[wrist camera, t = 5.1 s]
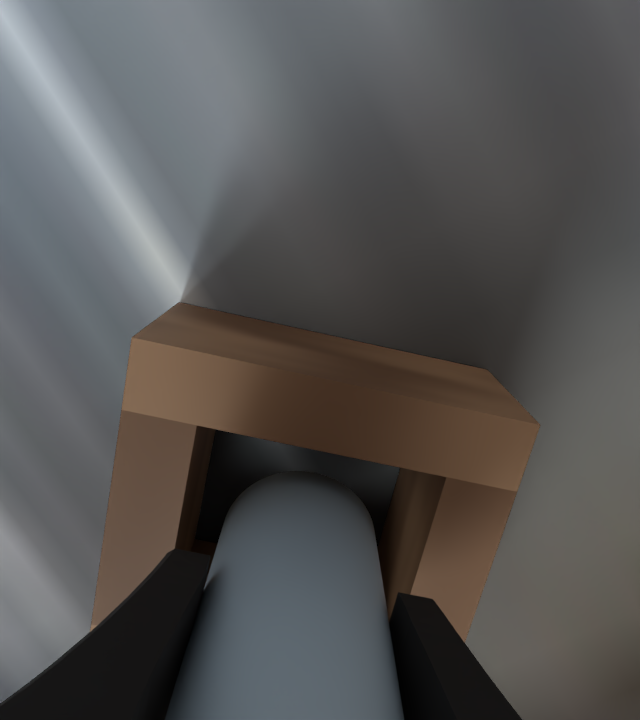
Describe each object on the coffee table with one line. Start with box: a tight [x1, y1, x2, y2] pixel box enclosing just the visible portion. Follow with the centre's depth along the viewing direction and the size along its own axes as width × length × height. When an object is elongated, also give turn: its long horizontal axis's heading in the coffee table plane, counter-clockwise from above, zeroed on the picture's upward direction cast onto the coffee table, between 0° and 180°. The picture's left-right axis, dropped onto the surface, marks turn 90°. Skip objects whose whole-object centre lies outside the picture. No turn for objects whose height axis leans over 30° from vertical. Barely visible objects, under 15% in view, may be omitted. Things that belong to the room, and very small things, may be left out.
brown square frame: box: [90, 302, 540, 643], centre depth 13 cm, size 8×8×4 cm
